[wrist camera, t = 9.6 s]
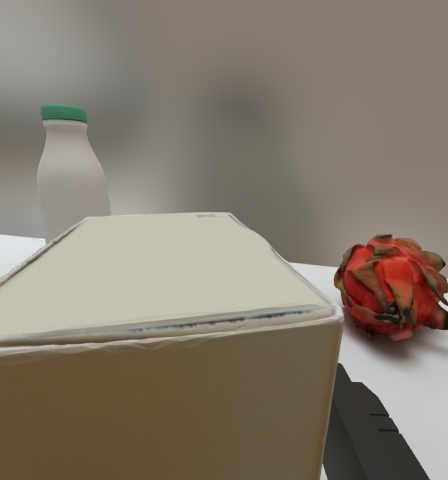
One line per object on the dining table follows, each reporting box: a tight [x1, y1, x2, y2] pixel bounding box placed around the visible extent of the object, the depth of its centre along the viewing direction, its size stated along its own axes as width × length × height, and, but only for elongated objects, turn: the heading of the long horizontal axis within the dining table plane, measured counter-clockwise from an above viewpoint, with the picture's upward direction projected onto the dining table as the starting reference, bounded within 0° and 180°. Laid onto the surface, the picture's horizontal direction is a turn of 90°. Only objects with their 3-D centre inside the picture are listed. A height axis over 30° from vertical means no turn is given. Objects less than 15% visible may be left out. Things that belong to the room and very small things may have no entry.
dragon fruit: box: [334, 234, 448, 341], centre depth 24 cm, size 8×8×12 cm
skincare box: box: [0, 212, 344, 480], centre depth 7 cm, size 6×4×12 cm
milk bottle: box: [37, 104, 111, 245], centre depth 35 cm, size 8×8×20 cm
